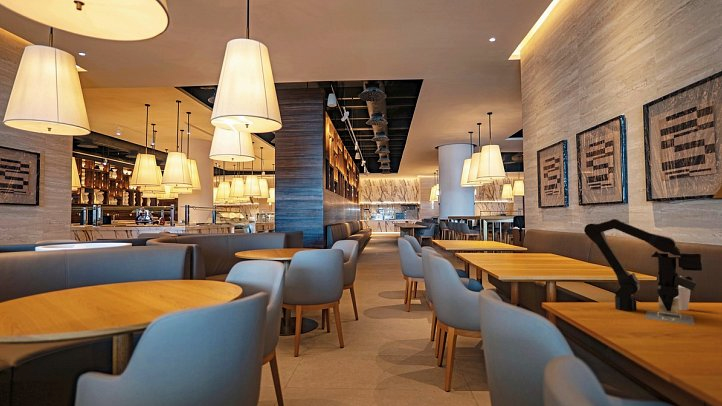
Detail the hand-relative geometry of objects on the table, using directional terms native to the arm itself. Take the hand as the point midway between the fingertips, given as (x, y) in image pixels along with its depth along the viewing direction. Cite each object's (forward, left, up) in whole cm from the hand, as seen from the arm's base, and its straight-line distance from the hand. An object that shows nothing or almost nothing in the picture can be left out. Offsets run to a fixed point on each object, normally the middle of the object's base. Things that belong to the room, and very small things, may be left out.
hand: (668, 309), depth 144 cm
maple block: (0, 0, -1) cm, 1 cm away
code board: (-2, -3, -3) cm, 5 cm away
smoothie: (+15, +13, -3) cm, 20 cm away
